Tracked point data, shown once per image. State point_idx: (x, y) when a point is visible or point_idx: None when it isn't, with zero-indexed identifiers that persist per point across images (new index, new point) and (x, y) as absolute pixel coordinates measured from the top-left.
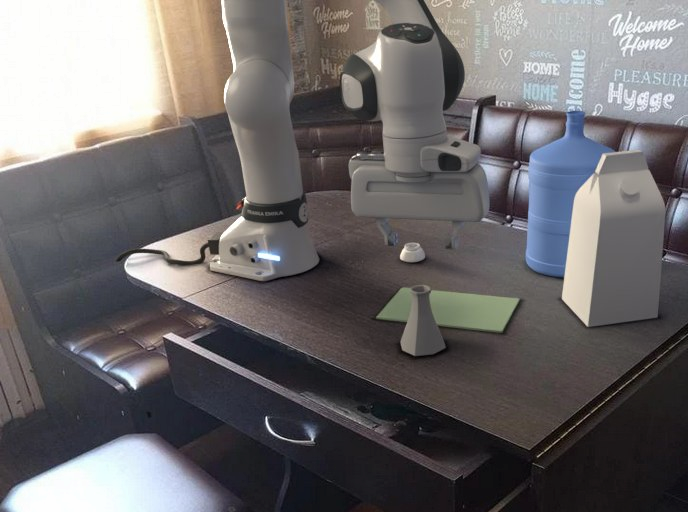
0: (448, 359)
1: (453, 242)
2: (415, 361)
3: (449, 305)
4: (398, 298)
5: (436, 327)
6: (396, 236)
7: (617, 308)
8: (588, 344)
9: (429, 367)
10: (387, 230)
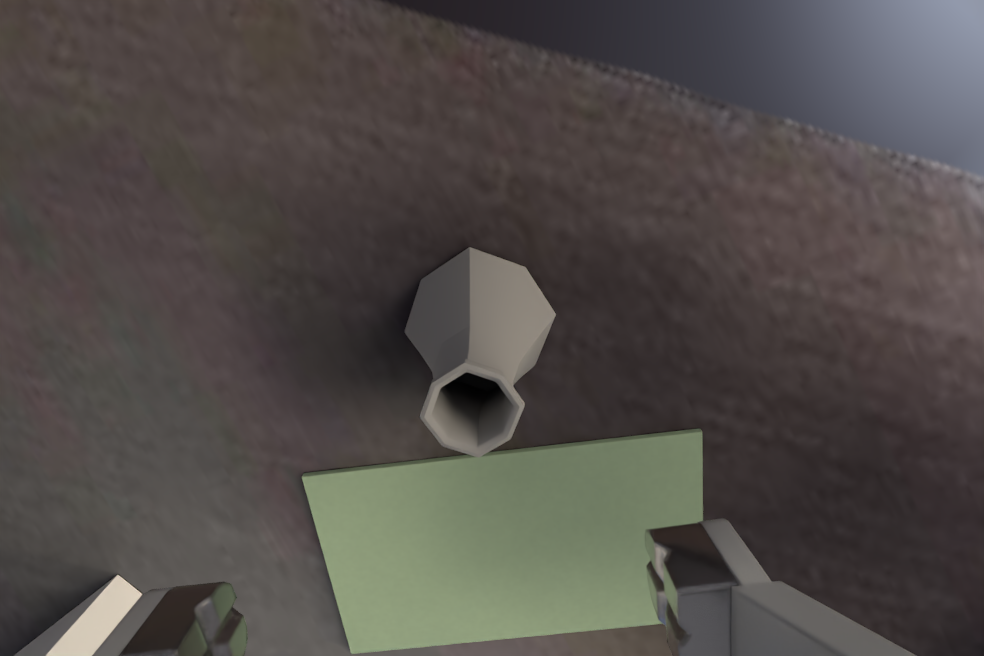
0: (368, 276)
1: (119, 633)
2: (456, 225)
3: (516, 563)
4: None
5: (421, 349)
6: (668, 626)
7: (32, 652)
8: (66, 492)
9: (397, 206)
10: (768, 647)
